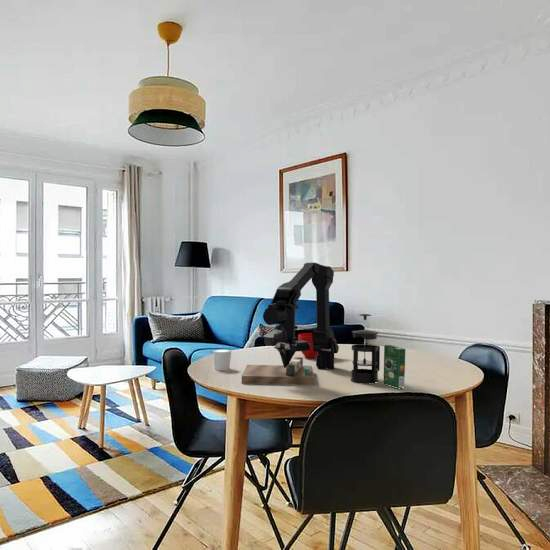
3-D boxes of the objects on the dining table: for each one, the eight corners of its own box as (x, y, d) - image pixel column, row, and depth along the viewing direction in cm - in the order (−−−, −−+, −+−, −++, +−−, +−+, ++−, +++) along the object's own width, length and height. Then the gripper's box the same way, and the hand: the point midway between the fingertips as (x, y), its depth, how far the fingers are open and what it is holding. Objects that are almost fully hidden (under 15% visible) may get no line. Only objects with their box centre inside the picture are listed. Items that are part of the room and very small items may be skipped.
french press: (362, 385, 154) (363, 315, 155) (343, 380, 162) (344, 313, 162) (387, 381, 161) (388, 314, 161) (368, 376, 169) (368, 312, 169)
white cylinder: (216, 371, 175) (216, 352, 175) (210, 368, 181) (210, 349, 181) (233, 369, 178) (234, 351, 178) (227, 366, 184) (227, 348, 184)
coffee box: (405, 389, 150) (406, 348, 150) (398, 389, 149) (398, 348, 149) (390, 383, 158) (390, 344, 158) (382, 384, 156) (383, 345, 156)
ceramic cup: (337, 360, 201) (338, 337, 201) (298, 359, 202) (298, 336, 202) (334, 355, 214) (334, 333, 214) (297, 354, 215) (297, 332, 215)
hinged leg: (294, 365, 173) (294, 357, 173) (303, 366, 173) (303, 357, 173) (284, 375, 156) (284, 365, 156) (294, 376, 155) (294, 366, 155)
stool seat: (311, 372, 174) (311, 360, 174) (314, 385, 154) (314, 371, 154) (247, 371, 175) (247, 359, 175) (241, 383, 155) (241, 369, 155)
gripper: (252, 320, 164) (251, 365, 164) (285, 327, 149) (284, 375, 149) (277, 319, 171) (276, 362, 171) (311, 325, 156) (310, 372, 156)
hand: (285, 367), depth 162 cm, fingers closed
